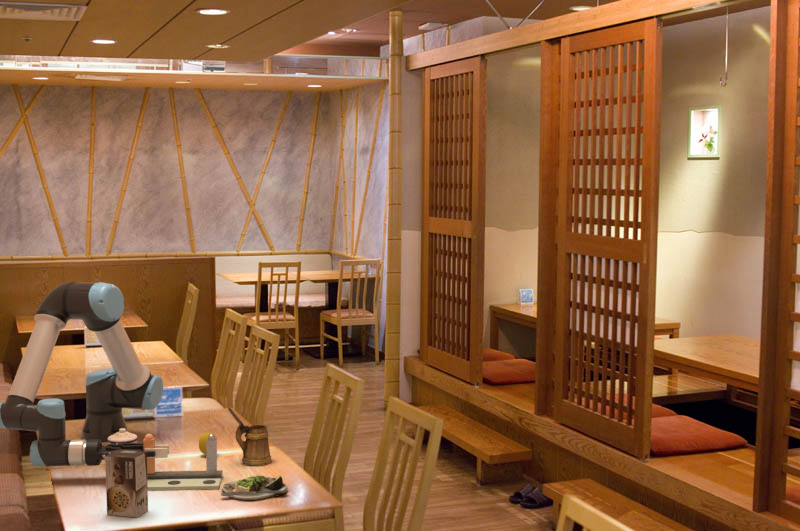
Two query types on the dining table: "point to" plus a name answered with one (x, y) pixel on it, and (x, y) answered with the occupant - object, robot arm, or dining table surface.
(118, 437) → the teacup with lid
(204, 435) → the lemon
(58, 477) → the dining table surface
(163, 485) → the hole board
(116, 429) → the robot arm
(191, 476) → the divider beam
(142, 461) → the coffee box
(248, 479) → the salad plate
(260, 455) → the wooden mug
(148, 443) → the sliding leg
